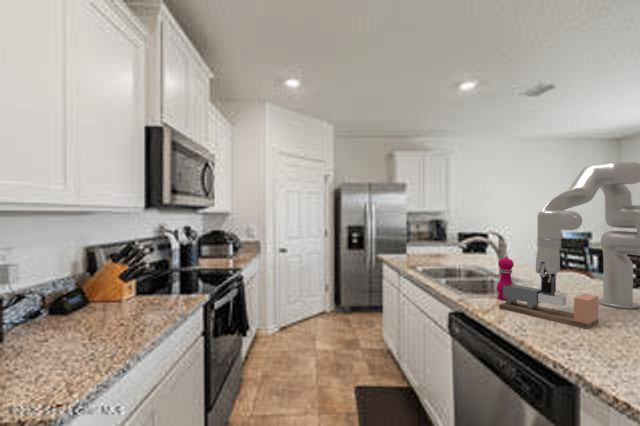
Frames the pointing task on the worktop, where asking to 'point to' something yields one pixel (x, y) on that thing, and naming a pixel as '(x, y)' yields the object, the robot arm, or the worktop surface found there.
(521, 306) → the base board
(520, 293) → the outer sleeve
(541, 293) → the tube
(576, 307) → the socket block
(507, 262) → the pepper mill
